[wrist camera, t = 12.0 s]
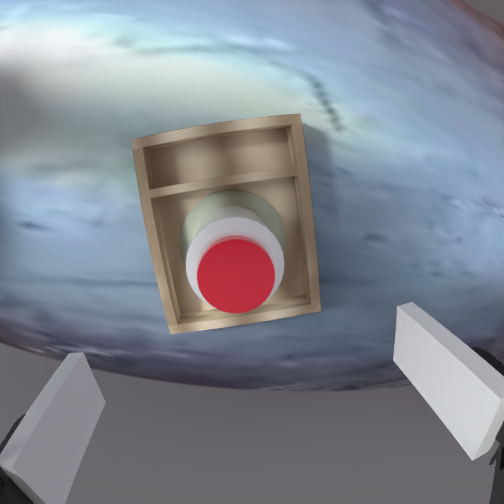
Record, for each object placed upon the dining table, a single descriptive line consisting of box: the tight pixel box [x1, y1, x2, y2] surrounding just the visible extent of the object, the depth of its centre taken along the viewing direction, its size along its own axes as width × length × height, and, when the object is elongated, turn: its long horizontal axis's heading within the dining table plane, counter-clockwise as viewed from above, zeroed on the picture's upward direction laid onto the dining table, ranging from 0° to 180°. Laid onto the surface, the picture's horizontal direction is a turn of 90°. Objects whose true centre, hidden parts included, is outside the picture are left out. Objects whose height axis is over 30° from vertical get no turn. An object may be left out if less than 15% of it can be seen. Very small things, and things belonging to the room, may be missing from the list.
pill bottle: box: [186, 206, 284, 313], centre depth 27 cm, size 8×8×11 cm
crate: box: [132, 114, 321, 334], centre depth 31 cm, size 16×20×4 cm
